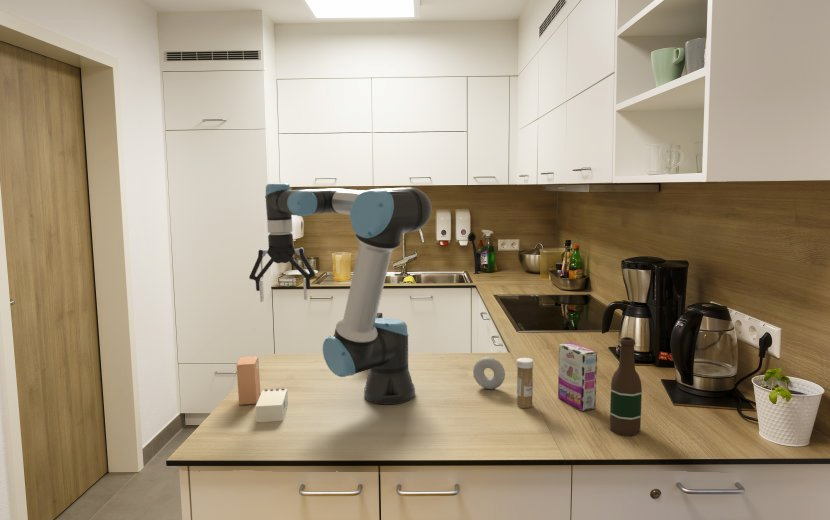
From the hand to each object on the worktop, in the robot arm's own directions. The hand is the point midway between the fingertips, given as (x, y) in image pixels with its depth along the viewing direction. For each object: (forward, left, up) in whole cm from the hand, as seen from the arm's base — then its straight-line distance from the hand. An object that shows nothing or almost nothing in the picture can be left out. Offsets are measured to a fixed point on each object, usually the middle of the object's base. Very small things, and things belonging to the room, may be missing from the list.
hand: (284, 300), depth 186 cm
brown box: (-4, +18, -27) cm, 32 cm away
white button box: (-17, +19, -27) cm, 37 cm away
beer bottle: (-99, -28, -27) cm, 106 cm away
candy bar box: (-82, -37, -27) cm, 94 cm away
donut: (-56, -32, -27) cm, 70 cm away
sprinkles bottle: (-71, -27, -27) cm, 81 cm away
